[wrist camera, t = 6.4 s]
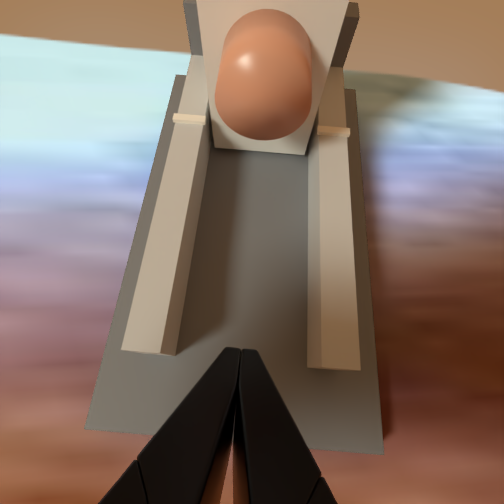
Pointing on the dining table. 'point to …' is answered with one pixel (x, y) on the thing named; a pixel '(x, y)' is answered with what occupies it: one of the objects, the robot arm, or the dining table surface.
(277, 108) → the plug
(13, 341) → the dining table surface
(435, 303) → the dining table surface
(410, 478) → the dining table surface
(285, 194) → the station
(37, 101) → the dining table surface
